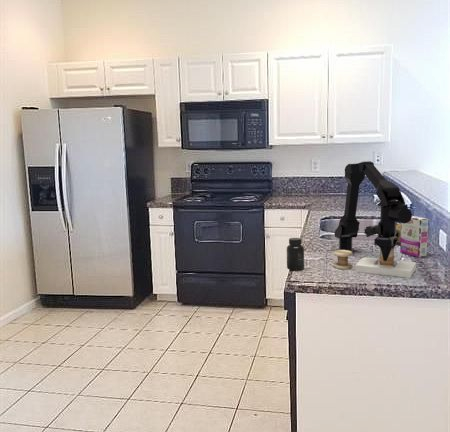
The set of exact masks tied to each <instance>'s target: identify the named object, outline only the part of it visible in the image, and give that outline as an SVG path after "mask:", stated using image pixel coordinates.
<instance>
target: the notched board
mask: <svg viewBox="0 0 450 432" xmlns="http://www.w3.org/2000/svg"><path fill="white" fill-rule="evenodd" d="M379 262H380V258H376V257H375V258H374V257H362V258H361V259H359V261H358V262H356V263H355V265H354V272H355V271H356V272H357V273H365V274H372V275H380V276H382V275H383V276H390V277H398V278H407V279H411V278H412V276H413V274H414V273H415V271H416V268H417V262H414V261H406V260H405V261H403V260H399V261H398V262H397V264H396V265H395V266H394V265H393V266H385V265H380V264H379Z"/></svg>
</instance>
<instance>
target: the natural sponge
mask: <svg viewBox="0 0 450 432" xmlns="http://www.w3.org/2000/svg"><path fill="white" fill-rule="evenodd" d="M396 229H398V230H399V231H400V237H399V238H398V241H397V243H398V244H399V245H401V223H399V224H398V223H397V224H396ZM395 238H397V236H395Z"/></svg>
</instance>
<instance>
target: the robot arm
mask: <svg viewBox="0 0 450 432" xmlns="http://www.w3.org/2000/svg"><path fill="white" fill-rule="evenodd" d="M344 178H345V180H346V183H347V189H346V195H345V196H346V197H345V205H344V206H345V207H344V213H343V215H342V217H341V218H340V219H339V222H338V226H337V227H336V229H335V230H334V237H335V238H336V239H338V249H336V250H348V251H351V252H352V253H353V251H355V248H353V238H357V237H358V233H359V231H360V221H359V220H358V218H357V217H356V215H357V210H358V209H357V208H358V201H359V195H360V194H359V193H360V185H361V184H362V182H364V180H365V179H366V178H367V179H368V181H369V182H370V183H371V184H372V185H373V187H374V188H375V190H376V191H375V195H376V196H377V197H378V200H379V201H380V202H378V203H377V206H378V207H380V217H379V218H380V219H379V222H378V223H377V224H374V225H369V226H366V227H365V228H364V229H363V231H364V232H363V233H364V234H365V236H366V238H369V237H371V236H375V235H377V236H376V237H375V238H374V240H373V244H374V245H375V246H378V247H379V249H381V252H382V256H383V260H384V261H387V259H388V257H389V254H390V252H391V250H392V249H394V250H395V247H396V245H397V243H398V238H399V237H400V231H399V230H398V229H396V226H397V225H398V223H399V224H401V223H404V224H405V223H408V222H409V221H410V220H411V218H412V216H413V213H412V211H411V209H410V208H409V207H408V206H409V205H408V204H406V202H405V199H404V197H403V194H402V193H401V192H402V191H401V190H400V188H399V187H398V185H396V184H395V183H394V182H392V181H389V180H387V179H386V178H385V177H384V176H383V174H382V173H381V171H379V170H378V169H377V167H376V166H375V163H374V162H373V161H369V160H367V161H365V160H364V161H361V162H357V163H348V164H347V165H345V167H344ZM395 236H397V238H395Z"/></svg>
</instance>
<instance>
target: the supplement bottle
mask: <svg viewBox="0 0 450 432" xmlns="http://www.w3.org/2000/svg"><path fill="white" fill-rule="evenodd" d="M286 268H287V269H288V270H289V271H302V270H304V269H305V247H304V246H303V245H302V238H301V237H290V238H289V239H288V245H287V247H286Z"/></svg>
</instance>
